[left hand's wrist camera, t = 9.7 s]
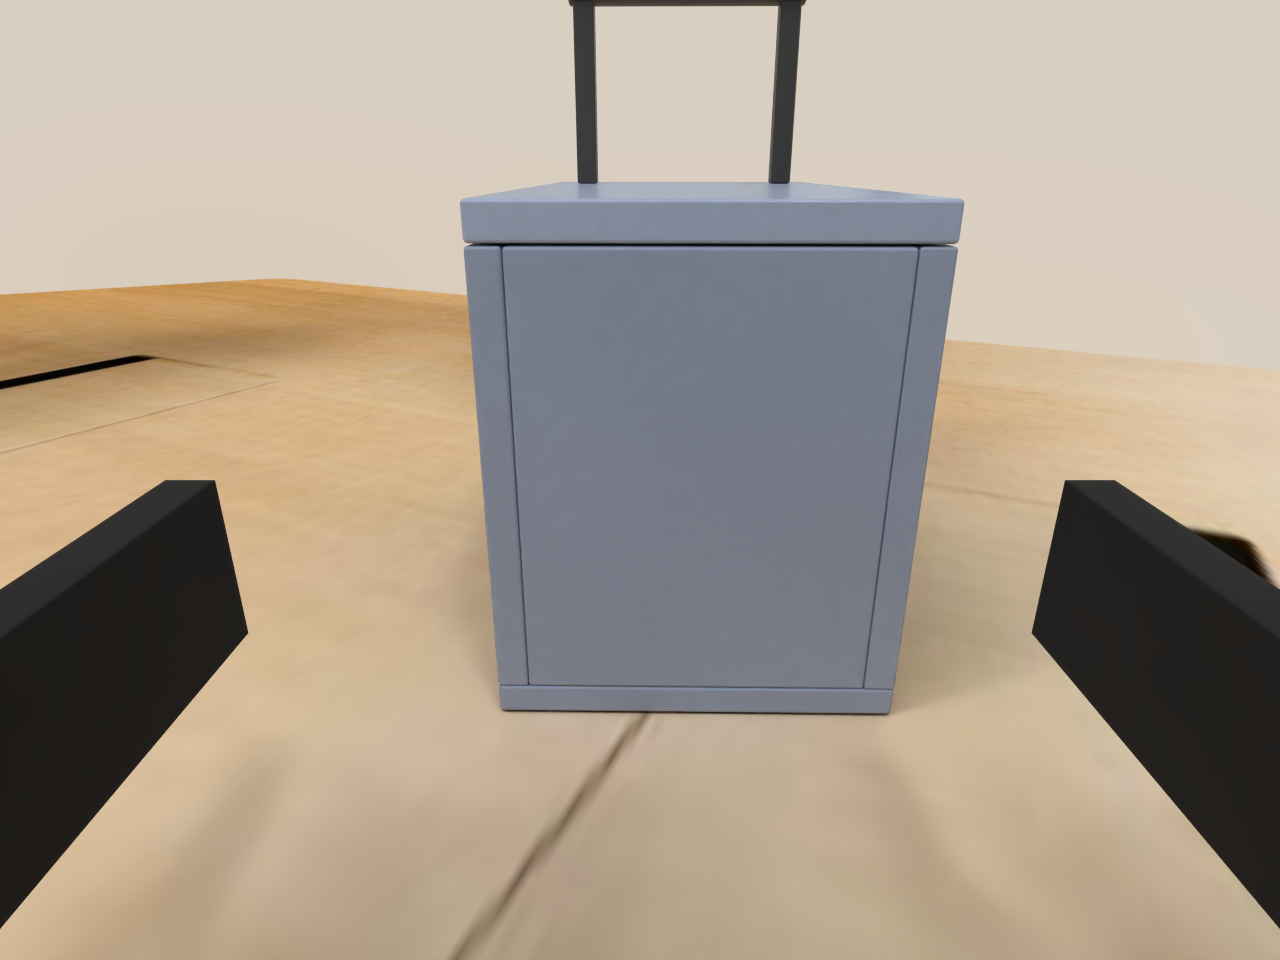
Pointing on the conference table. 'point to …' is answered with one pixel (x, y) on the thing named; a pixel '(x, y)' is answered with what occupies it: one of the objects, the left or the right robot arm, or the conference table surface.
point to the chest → (703, 468)
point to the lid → (704, 205)
